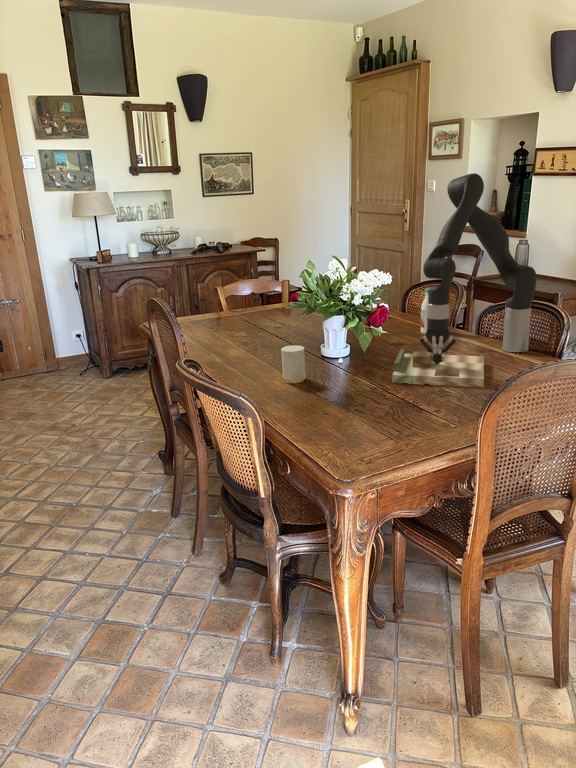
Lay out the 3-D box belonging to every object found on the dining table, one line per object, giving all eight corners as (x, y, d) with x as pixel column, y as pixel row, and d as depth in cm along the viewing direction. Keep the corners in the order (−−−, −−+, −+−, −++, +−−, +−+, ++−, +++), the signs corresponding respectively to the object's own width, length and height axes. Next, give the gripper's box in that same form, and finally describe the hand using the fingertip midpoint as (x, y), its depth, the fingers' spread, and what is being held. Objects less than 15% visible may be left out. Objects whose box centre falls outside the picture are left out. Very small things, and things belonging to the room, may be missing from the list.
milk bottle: (440, 331, 263) (441, 287, 257) (434, 335, 257) (436, 290, 251) (424, 329, 267) (425, 286, 261) (418, 333, 261) (418, 289, 255)
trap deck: (483, 363, 215) (484, 348, 213) (483, 387, 192) (484, 370, 190) (401, 361, 224) (401, 346, 222) (392, 383, 201) (392, 366, 199)
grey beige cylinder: (289, 385, 204) (287, 353, 200) (279, 379, 211) (277, 348, 207) (309, 381, 208) (308, 348, 204) (299, 375, 215) (297, 344, 211)
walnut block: (430, 362, 211) (431, 351, 209) (429, 367, 205) (430, 356, 204) (413, 361, 212) (414, 351, 211) (412, 366, 207) (412, 356, 206)
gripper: (458, 313, 203) (456, 361, 208) (419, 313, 206) (419, 359, 212) (457, 318, 196) (456, 367, 201) (418, 318, 200) (417, 366, 205)
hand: (437, 363), depth 207 cm, fingers closed
